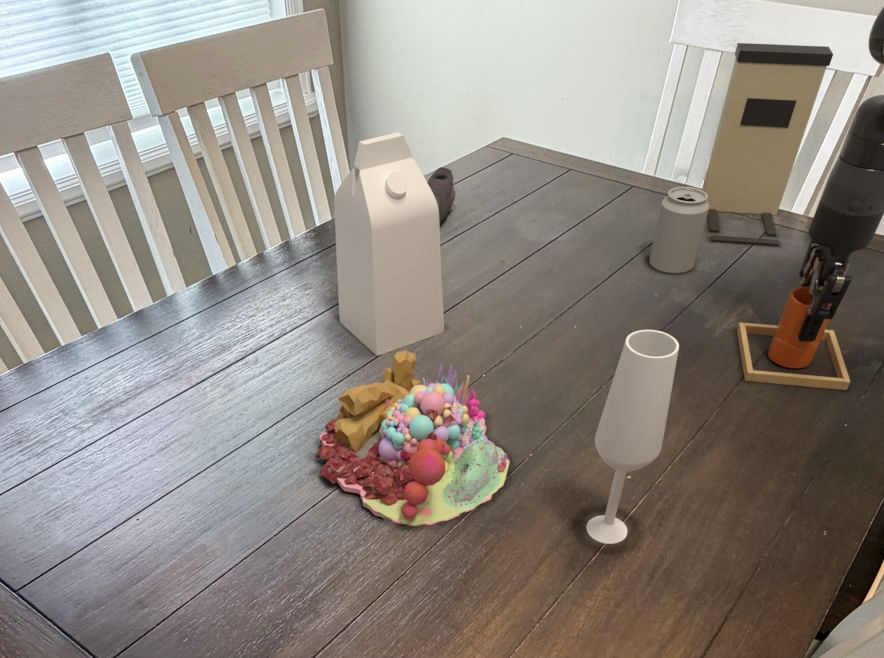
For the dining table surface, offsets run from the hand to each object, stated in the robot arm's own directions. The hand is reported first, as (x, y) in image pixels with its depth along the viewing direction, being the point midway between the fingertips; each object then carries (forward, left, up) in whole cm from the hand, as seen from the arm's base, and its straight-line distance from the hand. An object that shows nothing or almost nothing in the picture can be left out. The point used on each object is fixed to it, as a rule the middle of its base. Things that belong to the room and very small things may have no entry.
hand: (802, 327), depth 102 cm
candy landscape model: (+49, +30, -6) cm, 58 cm away
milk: (+59, 0, -6) cm, 59 cm away
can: (+16, -27, -6) cm, 32 cm away
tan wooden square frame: (0, 0, -6) cm, 6 cm away
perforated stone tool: (+59, -39, -6) cm, 71 cm away
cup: (0, 0, -5) cm, 5 cm away
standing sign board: (+3, -45, -6) cm, 46 cm away
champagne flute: (+25, +40, -6) cm, 48 cm away
